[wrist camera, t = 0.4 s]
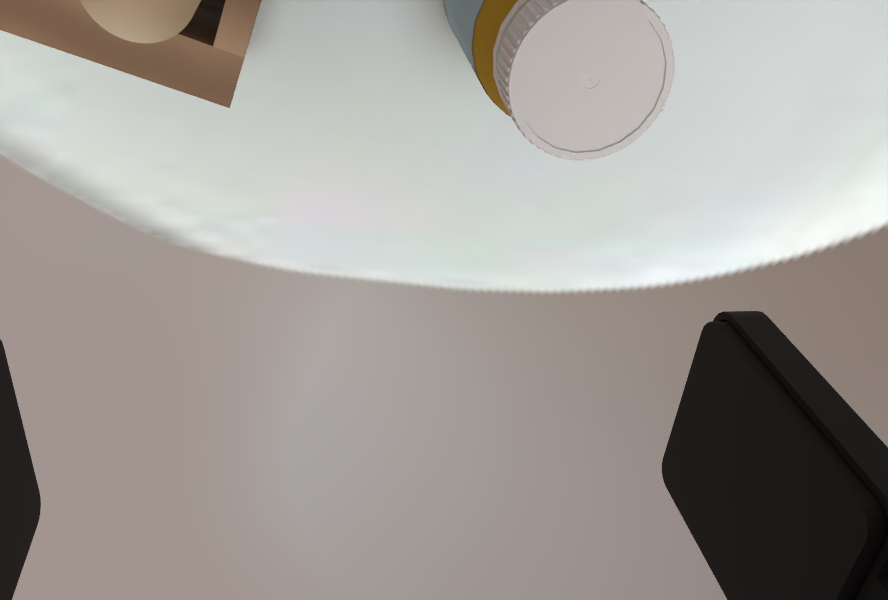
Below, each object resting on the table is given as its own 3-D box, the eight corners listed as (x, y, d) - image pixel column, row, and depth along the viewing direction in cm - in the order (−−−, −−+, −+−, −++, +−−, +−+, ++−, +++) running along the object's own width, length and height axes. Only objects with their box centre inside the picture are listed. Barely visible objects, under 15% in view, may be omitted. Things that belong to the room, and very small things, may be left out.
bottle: (413, -5, 41) (455, 93, 28) (509, -120, 38) (601, -69, 26) (508, 83, 44) (584, 205, 31) (602, -19, 41) (725, 69, 29)
